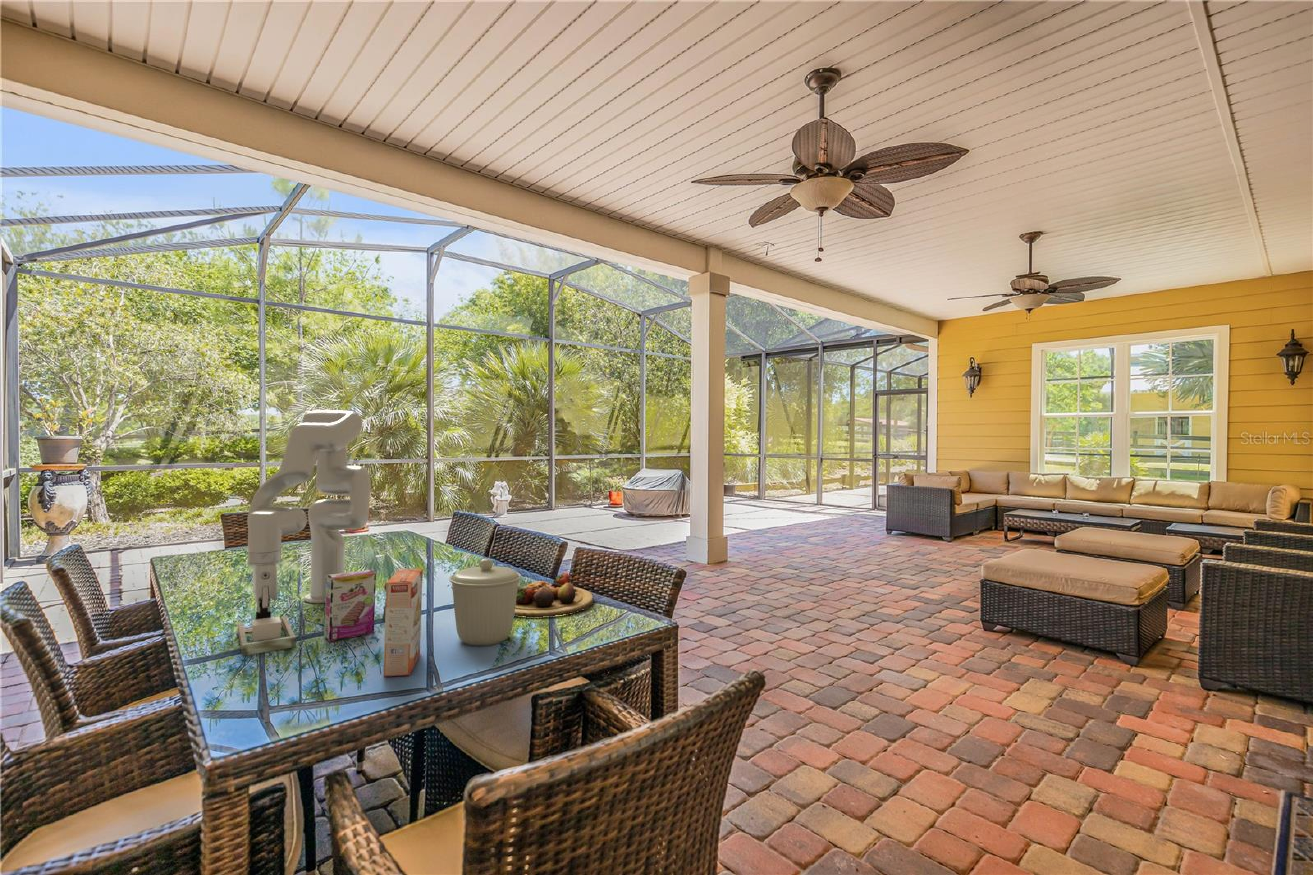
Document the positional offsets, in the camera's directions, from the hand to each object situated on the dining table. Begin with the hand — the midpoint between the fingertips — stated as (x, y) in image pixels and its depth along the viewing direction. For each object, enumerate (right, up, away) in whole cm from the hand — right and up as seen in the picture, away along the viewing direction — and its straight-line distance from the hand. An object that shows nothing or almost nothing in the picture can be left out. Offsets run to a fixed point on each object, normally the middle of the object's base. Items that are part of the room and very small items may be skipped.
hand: (263, 626), depth 163 cm
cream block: (+3, -2, -4) cm, 5 cm away
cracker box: (+47, -2, -22) cm, 52 cm away
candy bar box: (+24, -2, -2) cm, 25 cm away
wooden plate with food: (+69, -3, +31) cm, 76 cm away
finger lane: (+4, -1, -6) cm, 7 cm away
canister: (+60, -3, -3) cm, 60 cm away
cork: (+29, -2, +13) cm, 32 cm away
